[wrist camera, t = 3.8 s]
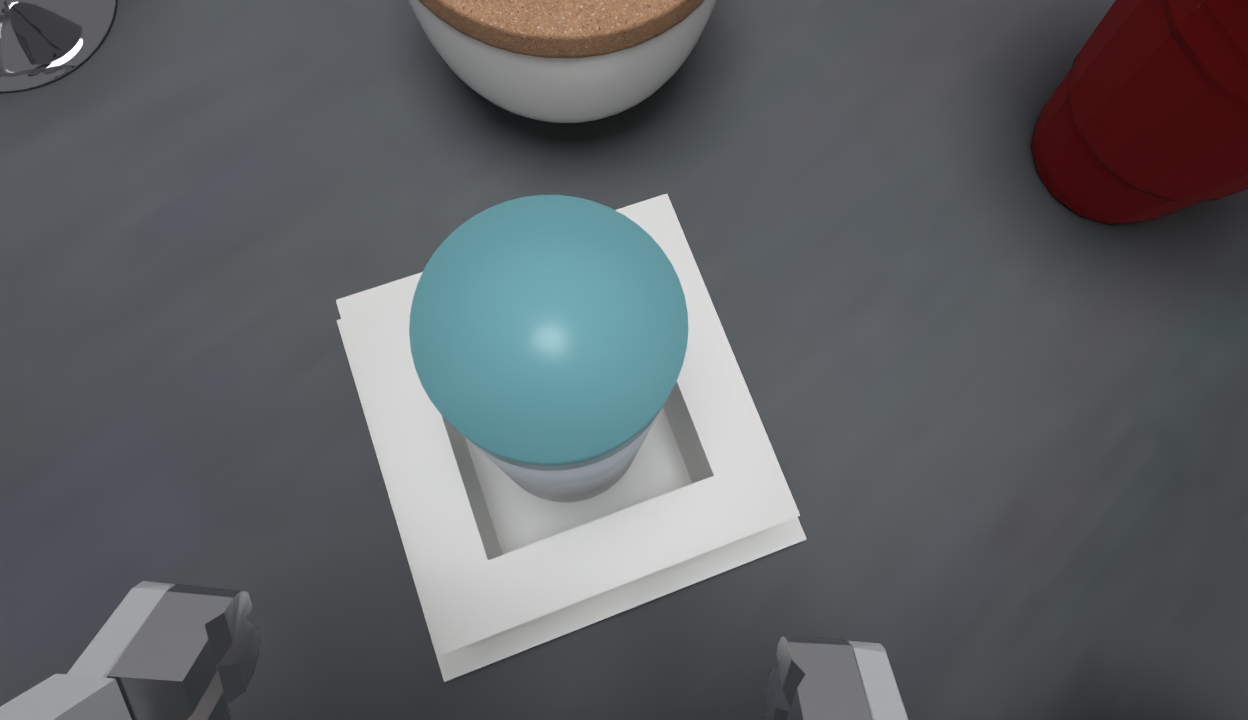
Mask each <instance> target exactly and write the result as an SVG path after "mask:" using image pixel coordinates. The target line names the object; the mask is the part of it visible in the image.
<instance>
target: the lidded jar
mask: <svg viewBox="0 0 1248 720" xmlns="http://www.w3.org/2000/svg"><path fill="white" fill-rule="evenodd" d="M408 2H409V4H410V6H411V8H412V10H413V12H414V13H415V15H416V17H417V19H418V21H419V23H420V25H421V26H422V28H423V30H424V32H425V34H426V36H427V37H428V39H429V41H430V42H431V44H432V45H433V47H434V48H435V49H436V51H437V52H438V53H439V55H440V56H441V57H442V59H443V60H444V61H445V62H446V64H447V65H448V66H449V67H450V69H451V70H452V71H453V72H454V73H455V74H456V75H457V76H458V77H459V78H460V79H461V80H463V81H464V82H465V83H466V84H467V85H468V86H469V87H470V88H472V89H473V90H474V91H475V92H477V93H478V94H479V95H481V96H482V97H484V98H485V99H487V100H489V101H490V102H492V103H493V104H495V105H497V106H499V107H501V108H503V109H505V110H507V111H510V112H512V113H514V114H517V115H521V116H524V117H528V118H531V119H534V120H540V121H547V122H554V123H579V122H587V121H594V120H598V119H601V118H605V117H608V116H612V115H615V114H618V113H620V112H623V111H625V110H627V109H629V108H631V107H633V106H636V105H637V104H639V103H640V102H642V101H643V100H645V99H646V98H648V97H649V96H651V95H652V94H653V93H654V92H655V91H657V90H658V89H659V88H660V87H661V86H662V85H663V84H664V83H665V82H666V81H668V80H669V79H670V78H671V77H672V76H673V75H674V74H675V73H676V72H677V70H678V69H679V68H680V66H681V65H682V64H683V63H684V61H685V60H686V59H687V57H688V56H689V54H690V53H691V51H692V49H693V48H694V46H695V45H696V43H697V41H698V39H699V37H700V35H701V34H702V32H703V30H704V28H705V26H706V24H707V22H708V19H709V17H710V15H711V13H712V10H713V8H714V5H715V2H716V0H408Z"/></svg>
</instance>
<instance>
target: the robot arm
mask: <svg viewBox="0 0 1248 720" xmlns="http://www.w3.org/2000/svg"><path fill="white" fill-rule="evenodd" d="M251 609H252V604H251V600H250V597H249V593H248V592H243V591H235V590H226V589H217V588H208V587H199V586H190V585H181V584H170V583H160V582H149V581H142V582H141V583H139V584H138V585H136V586H135V587H133V588H132V589H131V590H130V591H129V592H128V594H127V595H126V596H125V598H124V599H123V600H122V602H121V603H120V604H119V606H118V607H117V608H116V610H115V611H114V612H113V613H112V615H111V616H110V617H109V619H108V620H107V621H106V623H105V624H104V625H103V627H102V628H101V629H100V631H99V632H98V633H97V634H96V636H95V637H94V638H93V640H92V641H91V642H90V644H89V645H88V646H87V648H86V649H85V650H84V652H83V653H82V654H81V655H80V657H79V658H78V659H77V661H76V662H75V663H74V665H73V666H72V667H71V669H70V670H69V671H68V673H67V674H54V675H53V676H51V677H49V678H48V679H46V680H44V681H43V682H41V683H39V684H37V685H36V686H34V687H32V688H31V689H29V690H27V691H26V692H24V693H22V694H21V695H19V696H17V697H16V698H14V699H12V700H11V701H9V702H7V703H6V704H4V705H2V706H1V707H0V720H231V717H230V713H229V708H228V703H230V702H231V701H232V700H234V699H235V698H236V697H238V696H239V695H241V694H242V693H243V692H245V690H246V688H247V686H248V684H249V682H250V680H251V678H252V676H253V674H254V671H255V667H256V663H257V660H258V656H259V645H260V638H259V633H258V628H257V627H256V626H255V625H254V624H253V623H252V622H251V621H249V620H248V619H247V617H248V615H249V613H250V611H251ZM776 653H777V660H778V665H777V666H776V667H774V668H773V669H771V670H770V674H769V678H768V682H767V688H766V700H765V705H766V720H908V717H907V714H906V711H905V708H904V705H903V702H902V699H901V696H900V693H899V690H898V687H897V683H896V680H895V677H894V674H893V671H892V668H891V665H890V662H889V659H888V656H887V653H886V650H885V649H884V647H883V646H882V645H881V644H880V643H869V642H857V641H845V640H840V639H826V638H812V637H798V636H783V637H782V638H781V639H780V640H779V644H778V647H777V650H776Z"/></svg>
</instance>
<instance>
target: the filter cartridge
mask: <svg viewBox="0 0 1248 720" xmlns="http://www.w3.org/2000/svg"><path fill="white" fill-rule="evenodd" d="M409 337H410V347H411V353H412V358H413V362H414V366H415V369H416V372H417V374H418V377H419V379H420V382H421V384H422V386H423V388H424V390H425V392H426V393H427V395H428V397H429V399H430V400H431V402H432V403H433V404H434V406H435V407H436V408H437V410H438V411H439V412H440V414H441V415H442V416H443V417H444V418H445V419H446V420H447V421H448V422H449V423H450V424H451V425H452V426H453V427H454V428H455V429H456V430H458V431H459V432H460V433H461V434H462V435H463V436H464V437H465V438H466V439H468V440H469V441H470V442H471V443H472V444H473V445H474V446H475V447H476V448H478V449H479V450H480V451H481V452H482V453H483V454H484V455H485V456H486V457H488V458H489V459H490V460H491V461H492V462H493V463H494V464H495V465H497V466H498V467H499V468H500V469H501V470H502V471H503V472H504V473H505V474H507V475H508V476H509V477H510V478H511V479H512V480H513V481H514V482H515V483H517V484H518V485H519V486H520V487H522V488H523V489H524V490H526V491H527V492H529V493H531V494H533V495H535V496H537V497H540V498H542V499H546V500H550V501H554V502H577V501H583V500H586V499H590V498H593V497H595V496H597V495H599V494H601V493H603V492H605V491H606V490H608V489H609V488H611V487H612V486H613V485H614V484H616V483H617V482H618V481H619V480H620V479H621V477H622V476H623V475H624V474H625V473H626V471H627V470H628V468H629V467H630V465H631V463H632V462H633V460H634V458H635V456H636V454H637V452H638V451H639V449H640V447H641V445H642V443H643V442H644V440H645V438H646V436H647V434H648V433H649V431H650V429H651V427H652V425H653V423H654V422H655V420H656V418H657V416H658V414H659V413H660V411H661V409H662V407H663V405H664V404H665V402H666V400H667V398H668V396H669V394H670V393H671V391H672V389H673V387H674V385H675V383H676V381H677V379H678V376H679V374H680V371H681V368H682V366H683V362H684V358H685V353H686V349H687V341H688V311H687V306H686V301H685V295H684V292H683V289H682V286H681V283H680V280H679V278H678V276H677V274H676V272H675V269H674V267H673V265H672V263H671V262H670V260H669V259H668V257H667V256H666V254H665V253H664V251H663V250H662V248H661V247H660V246H659V245H658V244H657V243H656V242H655V240H654V239H653V238H652V237H651V236H650V235H649V234H648V233H647V232H646V231H645V230H643V229H642V228H641V227H640V226H639V225H638V224H636V223H635V222H633V221H632V220H630V219H629V218H628V217H626V216H625V215H623V214H621V213H619V212H617V211H615V210H613V209H611V208H610V207H607V206H605V205H602V204H599V203H597V202H594V201H590V200H586V199H582V198H578V197H572V196H563V195H536V196H528V197H522V198H518V199H514V200H510V201H506V202H503V203H501V204H498V205H496V206H493V207H490V208H488V209H486V210H485V211H483V212H481V213H479V214H477V215H475V216H473V217H472V218H471V219H469V220H468V221H466V222H465V223H463V224H462V225H461V226H459V227H458V228H457V229H456V230H455V231H454V232H453V233H452V234H451V235H449V236H448V237H447V238H446V239H445V241H444V242H443V243H442V244H441V245H440V246H439V248H438V249H437V250H436V251H435V253H434V254H433V256H432V257H431V259H430V260H429V262H428V263H427V265H426V267H425V269H424V271H423V273H422V275H421V277H420V279H419V281H418V284H417V287H416V290H415V294H414V297H413V301H412V306H411V312H410V325H409Z"/></svg>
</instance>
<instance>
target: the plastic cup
mask: <svg viewBox="0 0 1248 720" xmlns="http://www.w3.org/2000/svg"><path fill="white" fill-rule="evenodd" d="M1032 150H1033V154H1034V159H1035V163H1036V167H1037V172H1038V174H1039V175H1040V177H1041V178H1042V180H1043V181H1044V183H1045V184H1046V186H1047V187H1048V189H1049V190H1050V192H1051V193H1052V195H1053V196H1054V197H1055V198H1056V199H1058V200H1059V201H1060V202H1062V203H1063V204H1064V205H1066V206H1067V207H1068V208H1070V209H1071V210H1072V211H1074V212H1075V213H1077V214H1078V215H1080V216H1083V217H1086V218H1090V219H1093V220H1096V221H1099V222H1102V223H1106V224H1117V223H1134V222H1138V221H1142V220H1152V219H1155V218H1157V217H1160V216H1163V215H1166V214H1169V213H1171V212H1174V211H1177V210H1180V209H1183V208H1185V207H1188V206H1191V205H1194V204H1196V203H1199V202H1202V201H1205V200H1217V199H1220V198H1222V197H1225V196H1228V195H1231V194H1234V193H1237V192H1240V191H1243V190H1246V189H1248V0H1116V1H1115V2H1114V4H1113V5H1112V7H1111V8H1110V10H1109V11H1108V12H1107V14H1106V15H1105V17H1104V18H1103V19H1102V21H1101V22H1100V24H1099V25H1098V27H1097V28H1096V29H1095V31H1094V32H1093V34H1092V35H1091V36H1090V38H1089V39H1088V41H1087V42H1086V44H1085V45H1084V46H1083V48H1082V49H1081V51H1080V52H1079V53H1078V55H1077V56H1076V58H1075V59H1074V62H1073V67H1072V68H1071V70H1070V71H1069V73H1068V74H1067V75H1066V77H1065V78H1064V80H1063V81H1062V82H1061V84H1060V85H1059V87H1058V88H1057V89H1056V91H1055V92H1054V94H1053V95H1052V96H1051V98H1050V99H1049V101H1048V102H1047V103H1046V105H1045V106H1044V108H1043V109H1042V112H1041V117H1040V118H1039V120H1038V121H1037V123H1036V128H1035V133H1034V138H1033V143H1032Z"/></svg>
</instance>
